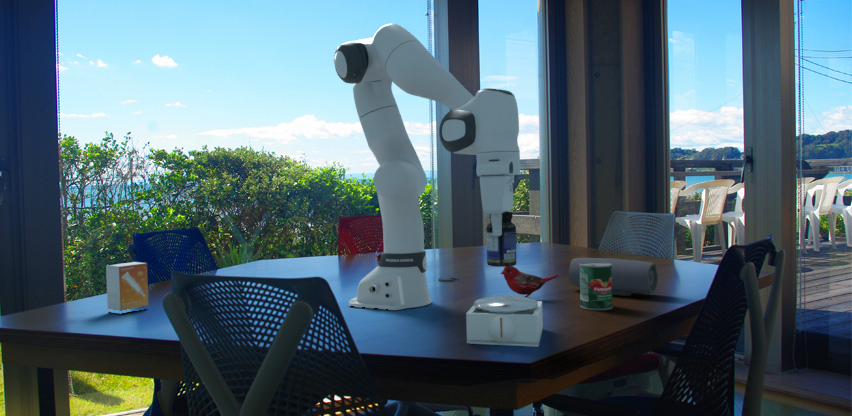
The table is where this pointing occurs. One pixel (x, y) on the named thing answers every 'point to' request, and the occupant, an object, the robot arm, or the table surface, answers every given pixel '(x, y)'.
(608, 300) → the canned tomato
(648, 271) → the bluetooth speaker
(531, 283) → the decorative bird figurine
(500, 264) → the pill bottle
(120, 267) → the small box
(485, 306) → the scale pan
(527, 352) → the table surface
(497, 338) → the scale housing
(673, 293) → the table surface
